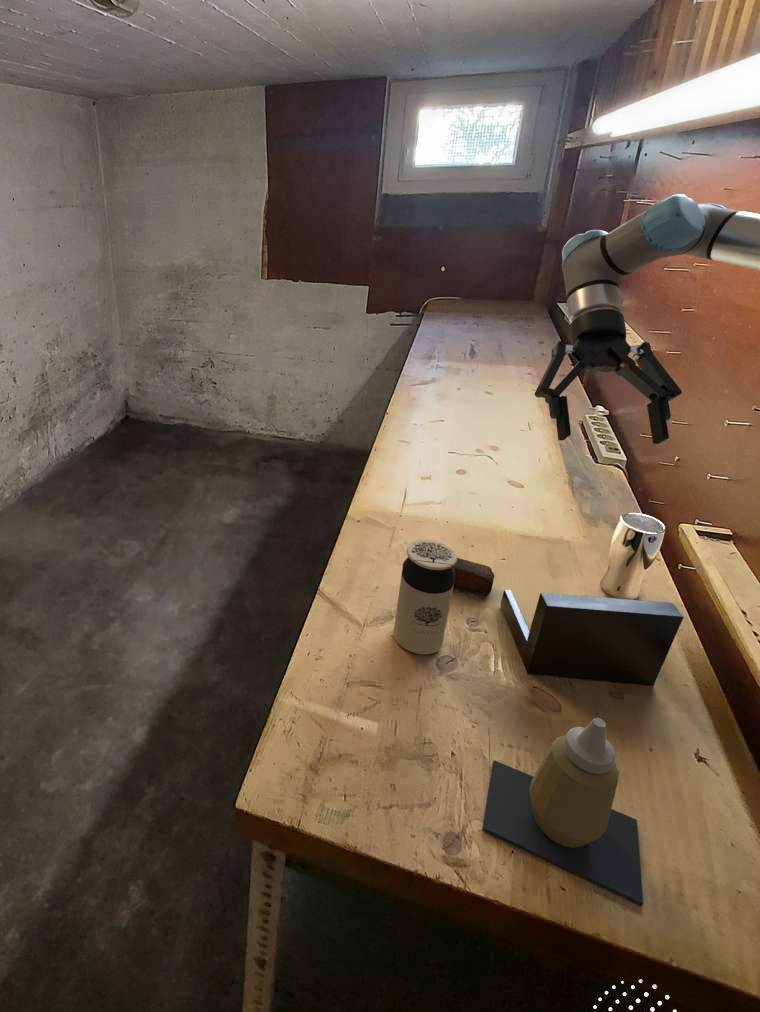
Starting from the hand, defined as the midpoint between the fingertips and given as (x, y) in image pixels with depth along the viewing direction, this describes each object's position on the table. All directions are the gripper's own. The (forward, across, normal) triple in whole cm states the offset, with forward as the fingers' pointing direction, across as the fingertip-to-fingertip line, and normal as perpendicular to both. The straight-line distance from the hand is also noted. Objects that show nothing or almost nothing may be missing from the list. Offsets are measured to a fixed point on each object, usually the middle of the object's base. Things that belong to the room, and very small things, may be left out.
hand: (612, 439), depth 87 cm
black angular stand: (+30, +2, -18) cm, 35 cm away
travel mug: (+32, +27, -16) cm, 44 cm away
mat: (+52, +14, +5) cm, 55 cm away
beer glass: (+20, -12, -28) cm, 36 cm away
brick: (+21, +16, -27) cm, 38 cm away
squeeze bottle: (+52, +14, +5) cm, 54 cm away
